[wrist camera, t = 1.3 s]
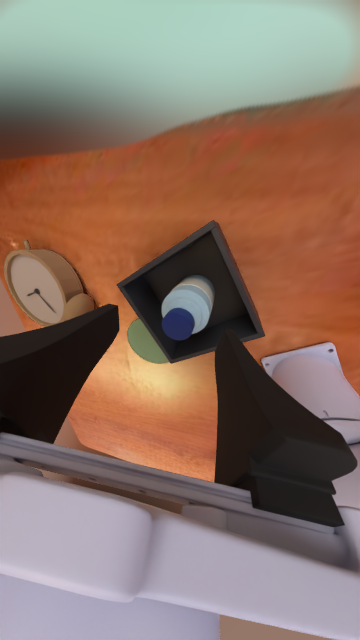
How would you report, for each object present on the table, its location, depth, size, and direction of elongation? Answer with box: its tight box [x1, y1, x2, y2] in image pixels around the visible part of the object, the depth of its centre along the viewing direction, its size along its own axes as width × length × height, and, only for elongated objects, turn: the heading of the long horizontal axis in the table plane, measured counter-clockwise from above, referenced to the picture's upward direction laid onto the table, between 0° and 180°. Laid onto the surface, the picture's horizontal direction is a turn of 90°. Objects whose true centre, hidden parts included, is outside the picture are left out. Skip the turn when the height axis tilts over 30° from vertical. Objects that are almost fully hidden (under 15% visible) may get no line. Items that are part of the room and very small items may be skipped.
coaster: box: [128, 318, 169, 363], centre depth 26 cm, size 9×9×1 cm
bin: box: [117, 220, 265, 364], centre depth 19 cm, size 11×11×5 cm
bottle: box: [162, 275, 215, 340], centre depth 17 cm, size 5×5×9 cm
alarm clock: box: [4, 240, 94, 327], centre depth 26 cm, size 11×5×15 cm
